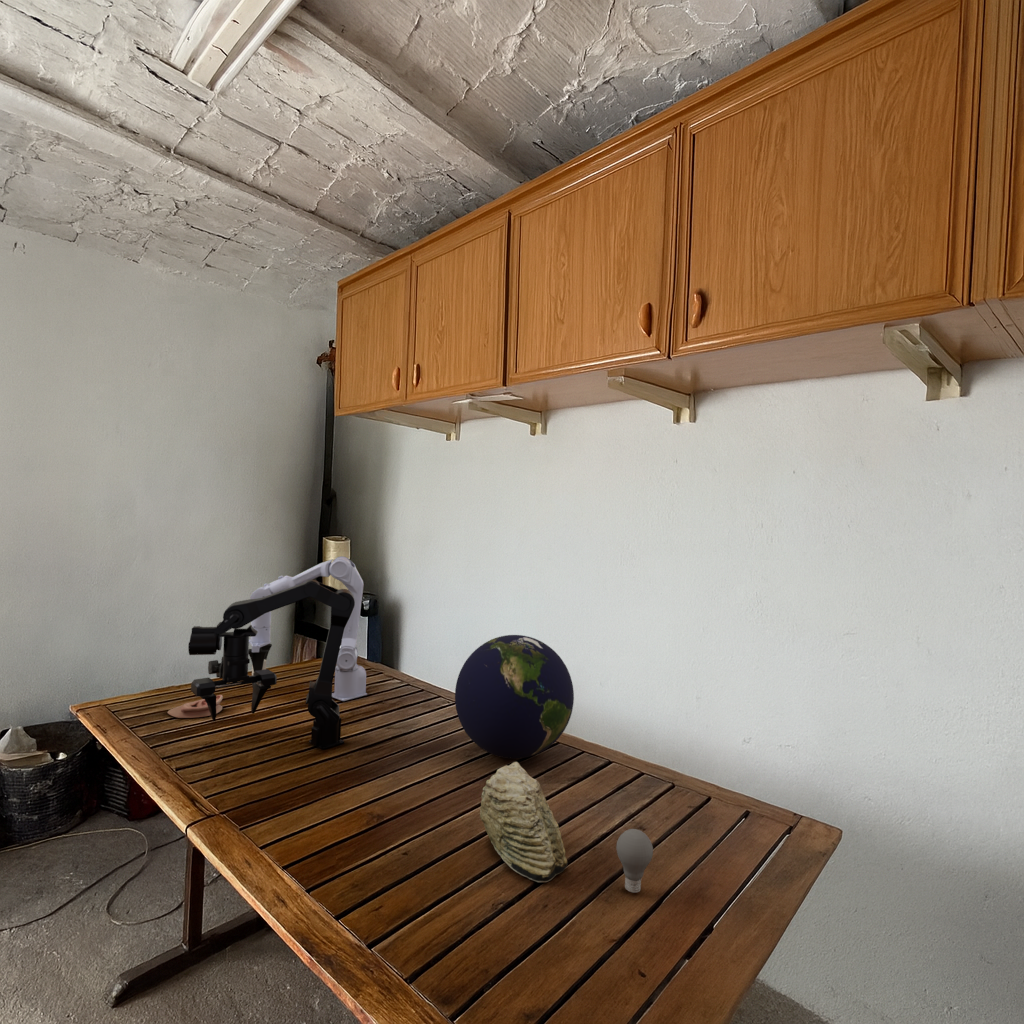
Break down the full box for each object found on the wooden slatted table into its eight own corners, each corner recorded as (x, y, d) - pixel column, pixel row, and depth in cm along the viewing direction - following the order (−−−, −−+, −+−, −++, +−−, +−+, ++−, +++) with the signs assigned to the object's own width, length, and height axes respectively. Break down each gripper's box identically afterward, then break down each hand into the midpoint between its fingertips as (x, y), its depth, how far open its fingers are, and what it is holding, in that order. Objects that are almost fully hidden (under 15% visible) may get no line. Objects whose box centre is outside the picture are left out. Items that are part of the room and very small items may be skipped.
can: (262, 672, 198) (262, 658, 198) (268, 675, 196) (268, 660, 196) (249, 675, 196) (250, 660, 195) (255, 677, 193) (256, 662, 193)
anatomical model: (160, 701, 176) (189, 689, 187) (159, 715, 176) (188, 703, 187) (202, 706, 173) (229, 694, 185) (201, 721, 173) (228, 708, 185)
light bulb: (610, 879, 108) (613, 822, 108) (644, 879, 109) (647, 822, 109) (619, 902, 102) (622, 840, 102) (655, 901, 103) (658, 840, 103)
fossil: (501, 827, 124) (504, 751, 124) (575, 868, 111) (578, 784, 111) (467, 843, 118) (470, 763, 118) (541, 889, 105) (545, 799, 105)
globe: (500, 724, 181) (504, 620, 180) (592, 752, 164) (597, 636, 163) (427, 755, 157) (432, 635, 156) (526, 792, 139) (533, 657, 139)
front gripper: (262, 643, 168) (260, 701, 168) (185, 651, 156) (183, 714, 156) (278, 651, 160) (276, 713, 160) (198, 661, 147) (196, 728, 148)
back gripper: (252, 621, 202) (250, 664, 202) (241, 631, 188) (240, 676, 188) (275, 621, 203) (274, 663, 203) (266, 631, 189) (265, 676, 189)
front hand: (233, 716), depth 156 cm, fingers open, 9 cm apart
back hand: (259, 670), depth 196 cm, fingers closed on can, 4 cm apart
